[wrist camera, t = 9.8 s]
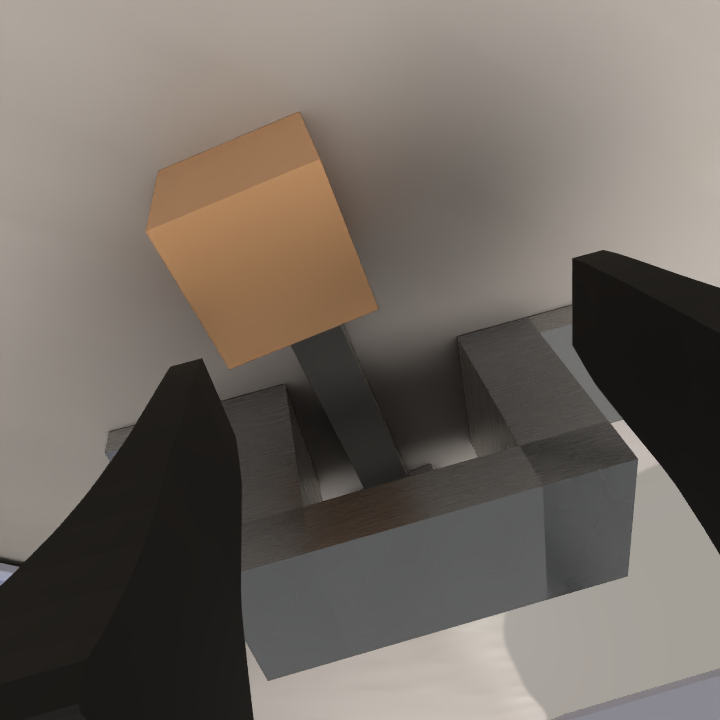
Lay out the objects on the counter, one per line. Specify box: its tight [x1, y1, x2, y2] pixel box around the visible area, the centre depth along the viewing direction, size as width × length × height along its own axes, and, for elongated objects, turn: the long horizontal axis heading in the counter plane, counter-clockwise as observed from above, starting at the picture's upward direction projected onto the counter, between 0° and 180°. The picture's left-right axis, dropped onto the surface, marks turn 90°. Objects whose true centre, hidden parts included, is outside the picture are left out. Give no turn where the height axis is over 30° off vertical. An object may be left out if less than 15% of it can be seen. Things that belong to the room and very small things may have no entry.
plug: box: [146, 112, 433, 490], centre depth 20 cm, size 16×4×4 cm, turn 19°
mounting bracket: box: [105, 305, 638, 681], centre depth 20 cm, size 5×18×7 cm, turn 102°
